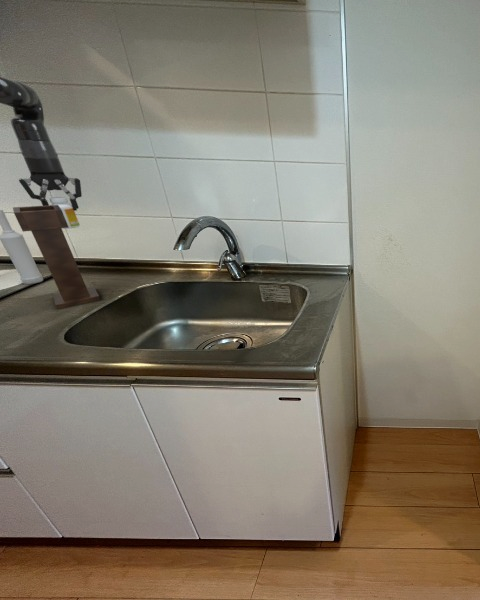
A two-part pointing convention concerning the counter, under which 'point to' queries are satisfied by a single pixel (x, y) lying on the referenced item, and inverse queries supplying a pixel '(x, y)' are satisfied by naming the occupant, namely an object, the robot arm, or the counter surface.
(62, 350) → the counter surface
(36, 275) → the bottle
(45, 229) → the holder
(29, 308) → the counter surface
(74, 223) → the supplement bottle
